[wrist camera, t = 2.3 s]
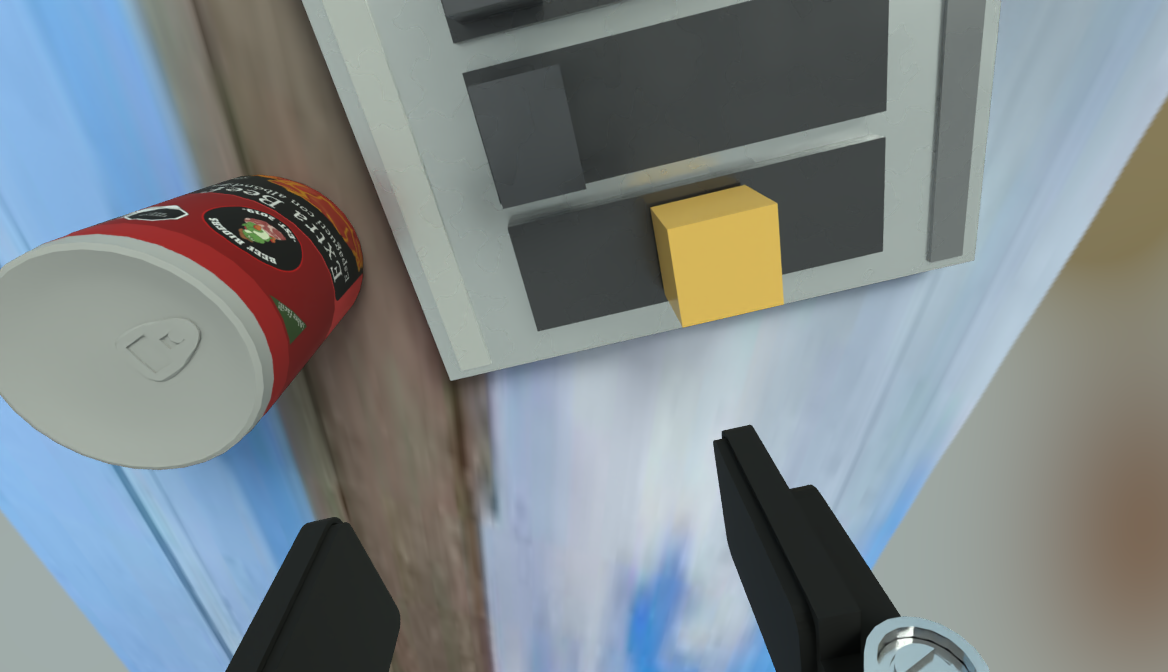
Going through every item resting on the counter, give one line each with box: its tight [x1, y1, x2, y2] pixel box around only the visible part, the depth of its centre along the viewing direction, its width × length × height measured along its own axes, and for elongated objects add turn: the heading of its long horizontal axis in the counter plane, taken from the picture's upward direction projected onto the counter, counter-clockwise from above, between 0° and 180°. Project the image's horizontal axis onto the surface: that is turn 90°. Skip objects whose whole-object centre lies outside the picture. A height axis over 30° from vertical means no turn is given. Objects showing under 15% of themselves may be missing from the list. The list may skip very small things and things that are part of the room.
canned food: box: [0, 175, 363, 470], centre depth 21 cm, size 8×8×11 cm
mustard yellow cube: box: [650, 185, 784, 327], centre depth 22 cm, size 4×4×4 cm
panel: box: [302, 0, 1001, 381], centre depth 21 cm, size 26×21×6 cm
